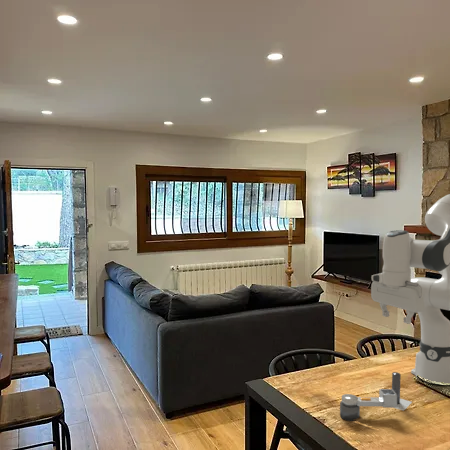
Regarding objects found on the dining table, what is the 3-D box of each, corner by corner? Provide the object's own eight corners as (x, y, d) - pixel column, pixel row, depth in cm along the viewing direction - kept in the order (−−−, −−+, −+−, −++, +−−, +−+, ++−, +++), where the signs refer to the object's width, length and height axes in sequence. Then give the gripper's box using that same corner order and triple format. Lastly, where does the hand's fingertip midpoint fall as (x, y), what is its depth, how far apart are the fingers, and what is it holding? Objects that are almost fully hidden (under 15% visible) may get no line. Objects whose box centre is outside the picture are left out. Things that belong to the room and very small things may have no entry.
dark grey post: (396, 400, 142) (397, 371, 141) (401, 403, 139) (402, 375, 139) (389, 401, 141) (390, 372, 141) (395, 404, 139) (395, 375, 138)
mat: (388, 396, 146) (388, 395, 146) (412, 403, 141) (412, 401, 141) (379, 404, 140) (379, 403, 140) (403, 412, 135) (403, 410, 135)
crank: (343, 407, 130) (343, 394, 130) (340, 399, 135) (340, 387, 135) (397, 408, 129) (397, 395, 129) (392, 400, 134) (392, 388, 134)
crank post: (345, 410, 137) (345, 398, 137) (362, 416, 133) (362, 403, 133) (336, 416, 132) (336, 404, 132) (354, 423, 128) (354, 410, 128)
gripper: (429, 283, 130) (429, 326, 131) (381, 274, 149) (381, 311, 150) (414, 284, 128) (414, 328, 128) (368, 275, 147) (367, 313, 147)
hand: (396, 319), depth 139 cm, fingers open, 8 cm apart
